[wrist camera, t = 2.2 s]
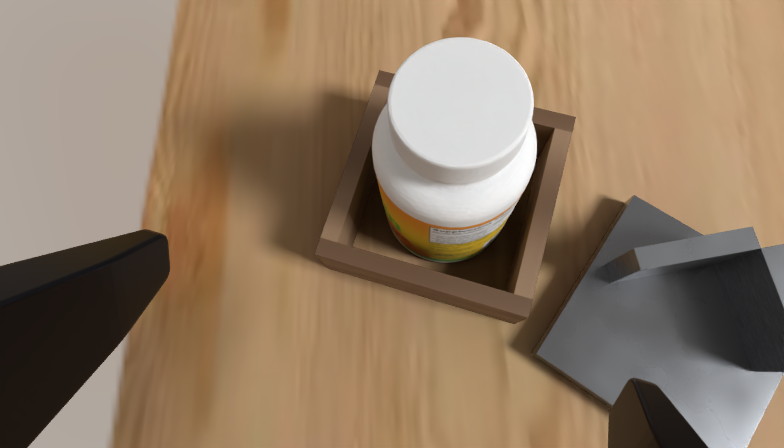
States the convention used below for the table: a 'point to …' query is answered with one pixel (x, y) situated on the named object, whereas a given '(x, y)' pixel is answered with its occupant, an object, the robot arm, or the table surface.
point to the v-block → (676, 321)
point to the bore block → (430, 283)
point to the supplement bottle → (454, 147)
